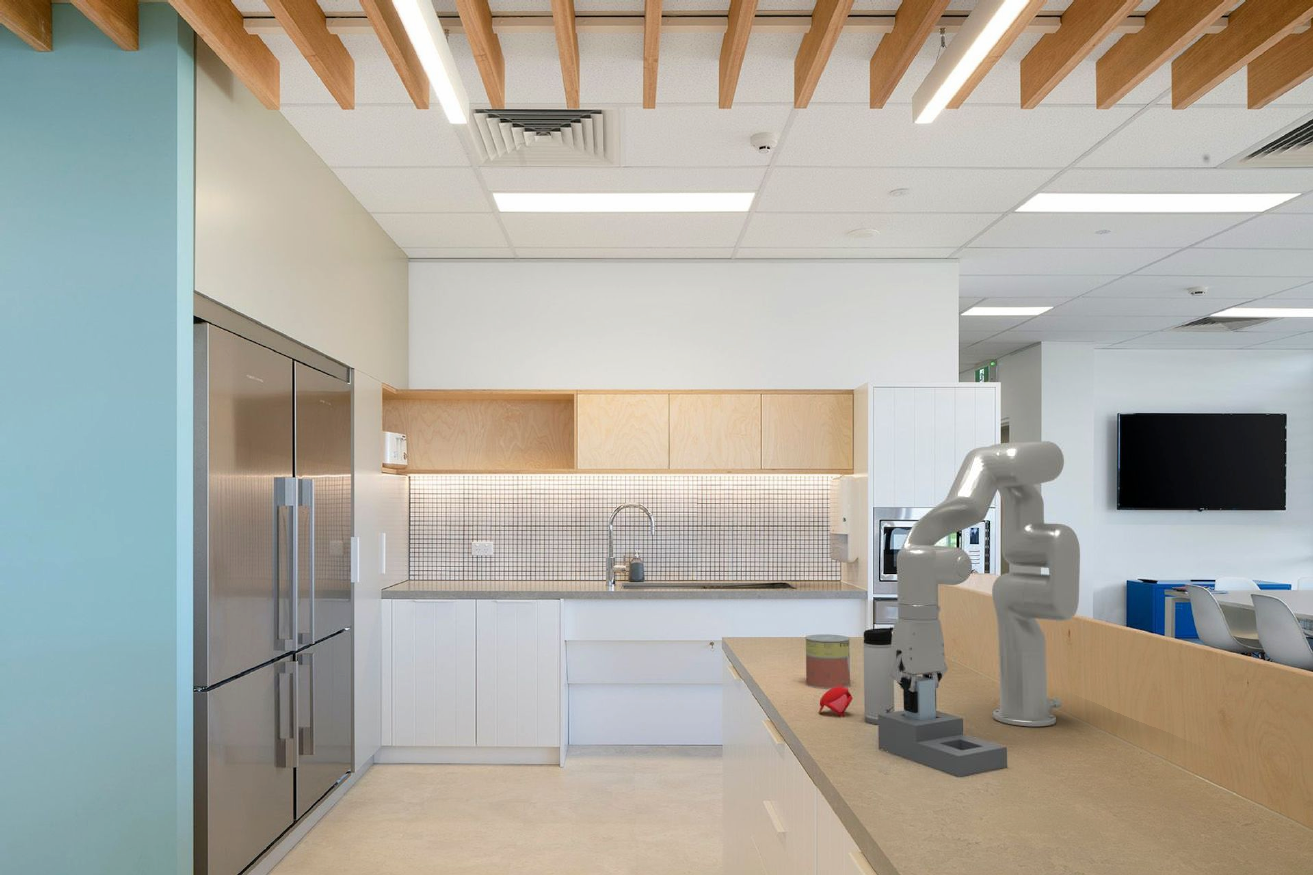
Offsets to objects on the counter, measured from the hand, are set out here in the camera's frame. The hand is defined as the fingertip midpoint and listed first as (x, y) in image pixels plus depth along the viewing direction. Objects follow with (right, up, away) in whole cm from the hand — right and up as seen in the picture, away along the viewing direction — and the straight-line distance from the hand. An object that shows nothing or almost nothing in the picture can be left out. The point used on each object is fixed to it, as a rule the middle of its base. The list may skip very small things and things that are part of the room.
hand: (920, 709), depth 172 cm
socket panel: (+2, -7, -5) cm, 9 cm away
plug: (0, -4, 0) cm, 4 cm away
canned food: (-6, -12, +61) cm, 62 cm away
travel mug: (-2, -10, +22) cm, 24 cm away
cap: (-10, -10, +29) cm, 32 cm away
